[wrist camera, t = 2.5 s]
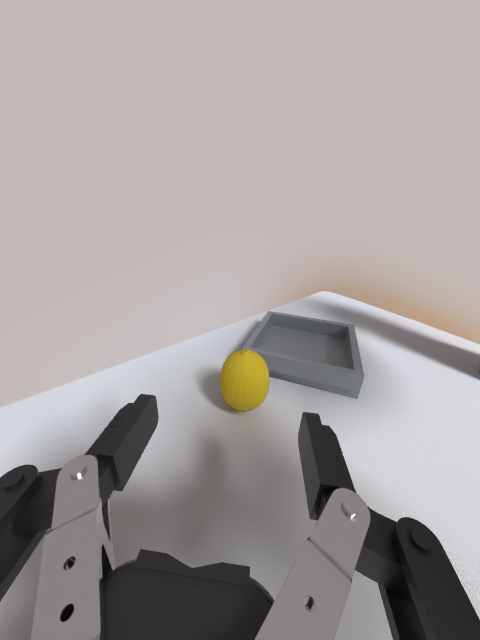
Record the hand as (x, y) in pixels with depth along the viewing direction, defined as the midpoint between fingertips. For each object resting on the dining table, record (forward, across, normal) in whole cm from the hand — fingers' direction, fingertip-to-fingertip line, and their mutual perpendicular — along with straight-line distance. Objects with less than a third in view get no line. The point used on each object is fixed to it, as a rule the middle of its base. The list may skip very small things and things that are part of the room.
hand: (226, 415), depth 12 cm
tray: (+25, -9, +10) cm, 28 cm away
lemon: (+12, 0, +11) cm, 16 cm away
